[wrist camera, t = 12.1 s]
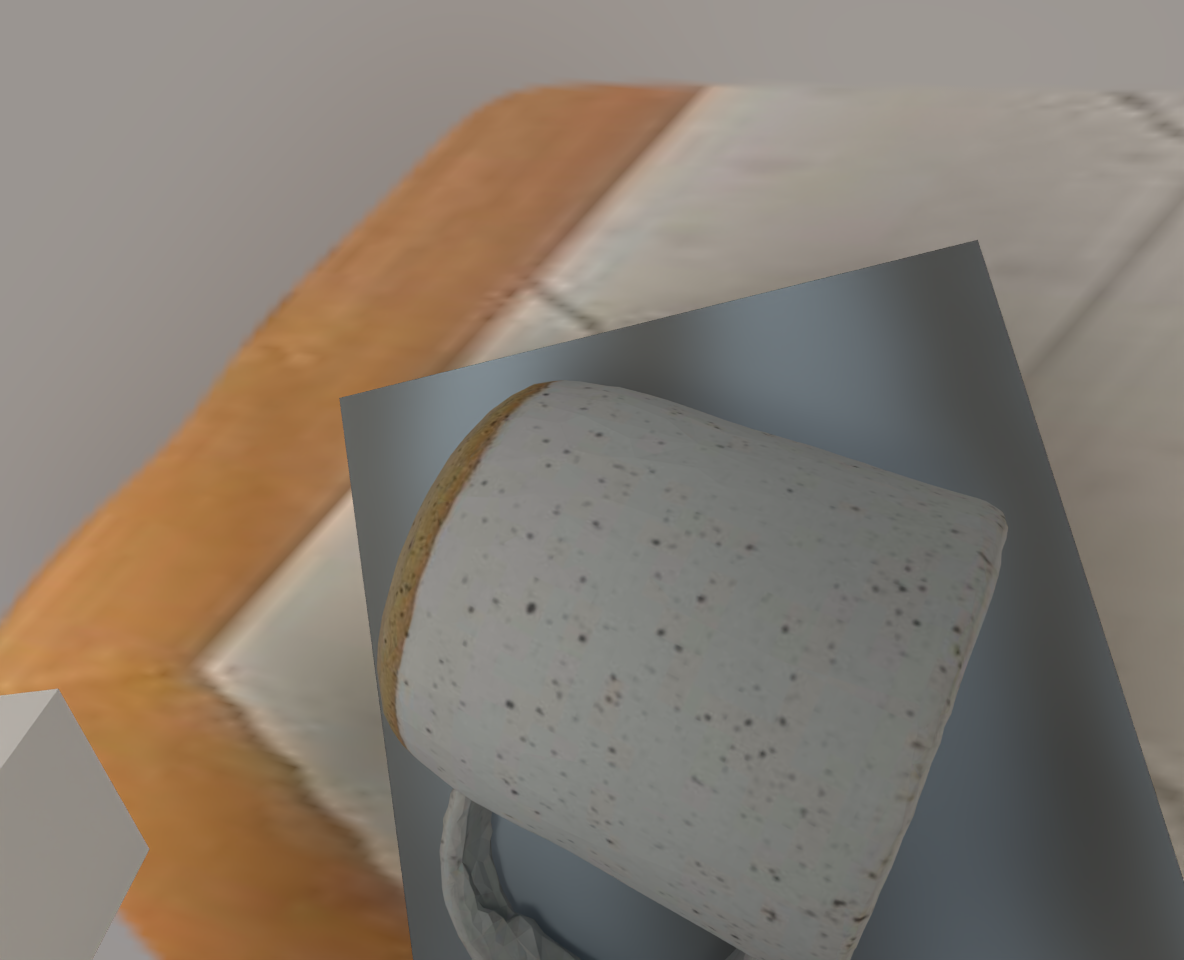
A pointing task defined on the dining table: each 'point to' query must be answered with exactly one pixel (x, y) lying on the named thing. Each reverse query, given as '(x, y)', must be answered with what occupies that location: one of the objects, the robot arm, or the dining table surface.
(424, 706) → the ceramic mug
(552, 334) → the dining table surface
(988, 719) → the grey and brown block
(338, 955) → the dining table surface
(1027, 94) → the dining table surface
